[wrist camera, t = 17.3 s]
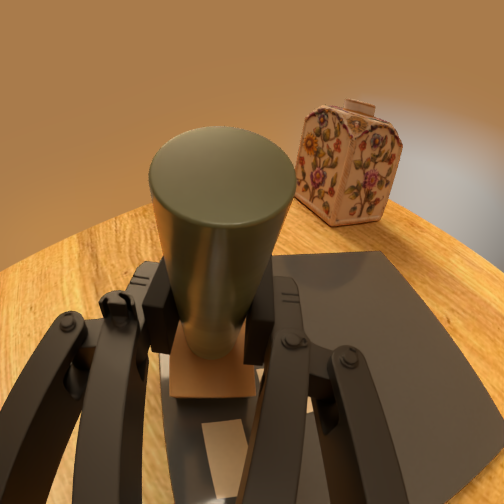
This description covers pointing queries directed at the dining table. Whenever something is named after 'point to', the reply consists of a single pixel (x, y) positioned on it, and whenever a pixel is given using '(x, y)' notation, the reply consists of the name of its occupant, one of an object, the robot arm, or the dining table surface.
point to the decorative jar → (346, 163)
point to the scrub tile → (385, 379)
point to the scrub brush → (217, 248)
